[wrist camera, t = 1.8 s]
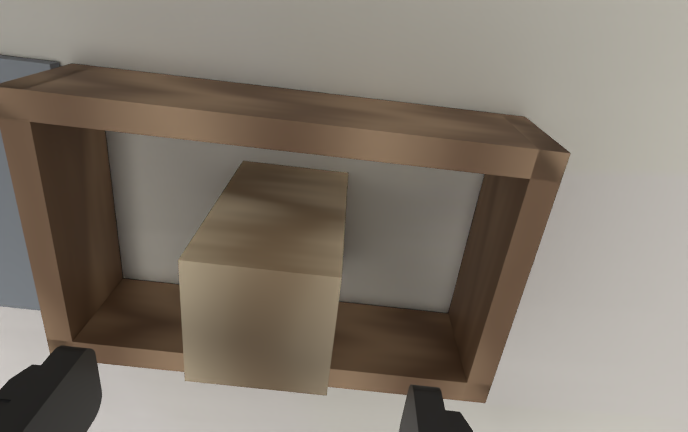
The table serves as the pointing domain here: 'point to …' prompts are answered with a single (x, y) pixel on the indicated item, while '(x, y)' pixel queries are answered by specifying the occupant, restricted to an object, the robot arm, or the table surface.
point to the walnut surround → (285, 135)
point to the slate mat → (15, 209)
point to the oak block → (265, 280)
